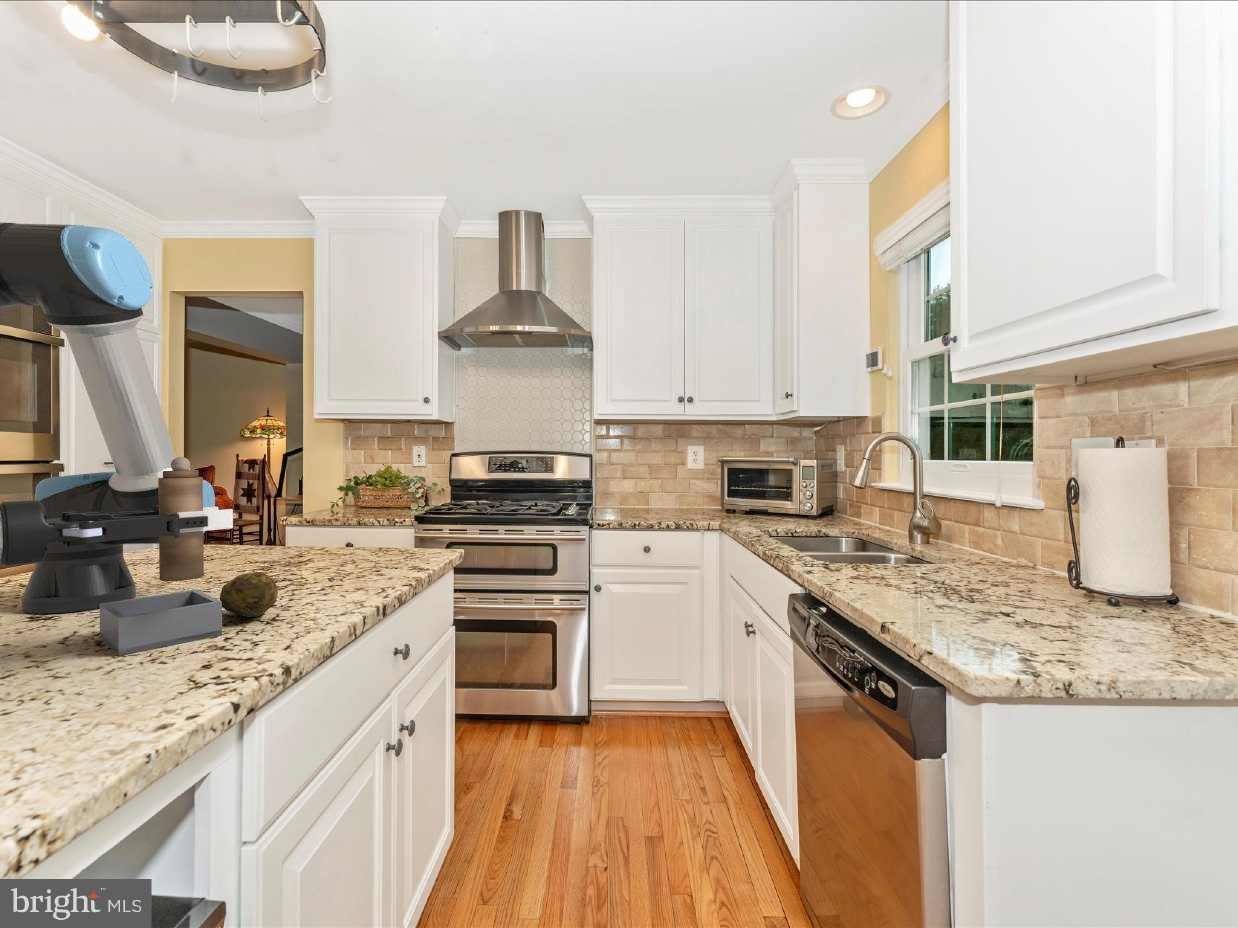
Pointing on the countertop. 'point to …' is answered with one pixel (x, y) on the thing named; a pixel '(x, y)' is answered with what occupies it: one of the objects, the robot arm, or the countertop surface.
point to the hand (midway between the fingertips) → (224, 517)
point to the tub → (159, 621)
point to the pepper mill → (175, 496)
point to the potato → (249, 594)
